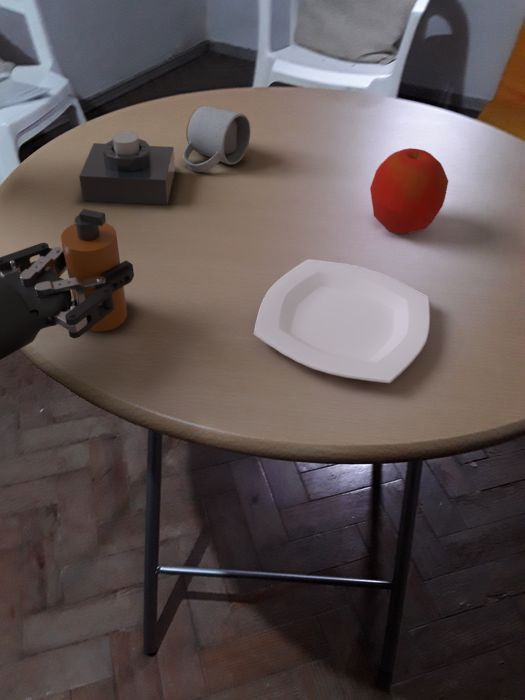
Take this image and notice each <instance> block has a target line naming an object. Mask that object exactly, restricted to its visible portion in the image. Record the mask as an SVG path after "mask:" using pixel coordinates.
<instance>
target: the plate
mask: <svg viewBox="0 0 525 700" xmlns="http://www.w3.org/2000/svg"><path fill="white" fill-rule="evenodd" d="M430 326H431V308H430V298H429V296H428V295H426V294H424V293H422V292H421V291H419V290H417V289H415V288H413V287H411V286H410V285H408V284H406V283H404V282H403V281H400V280H398V279H396V278H394V277H392V276H389V275H387V274H385V273H382V272H379V271H377V270H374V269H370V268H367V267H363V266H360V265H354V264H349V263H344V262H343V263H342V262H336V261H328V260H321V259H320V260H319V259H310V258H307V259H306V260H304V261H302V262H301V263H299V264H298V265H297V266H295V267H293V268H292V269H291V270H289V271H288V272H286V273H285V274H284V275H282V276H281V277H279V279H278V280H276V281H275V282H274V283H273V284H272V286H270V287H269V288H268V290H267V292H266V293H265V295H264V296H263V298H262V301H261V303H260V306H259V309H258V313H257V317H256V319H255V325H254V330H253V336H255V338H257V339H259V340H261V341H262V342H263V343H265V344H266V345H268V346H269V347H271V348H272V349H274V350H276V351H277V352H278V353H280V354H282V355H283V356H285V357H286V358H289V359H290V360H292V361H294V362H296V363H298V364H300V365H302V366H304V367H307V368H310V369H312V370H314V371H318V372H320V373H324V374H328V375H331V376H336V377H342V378H345V379H351V380H360V381H367V382H374V383H381V384H391V383H392V382H394V380H395V379H397V378H398V377H399V376H400V375H401V374H403V372H404V371H405V370H406V369H407V368H408V367H409V366H410V365H411V364H412V363H413V362H414V360H415V359H416V358H417V357H418V356H419V354H421V351H422V350H424V349H423V348H424V347H425V345H426V344H427V342H428V338H429V334H430Z"/></svg>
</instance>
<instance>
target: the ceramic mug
mask: <svg viewBox="0 0 525 700" xmlns="http://www.w3.org/2000/svg"><path fill="white" fill-rule="evenodd" d="M185 127H186V128H185V138H186V142H187V144H186V146H185V148H184V150H183V152H182V157H183V158H182V159H183V161H184V163H185V165H186V167H187V168H188V169H189V170H191V171H193V172H196V173H197V172H198V173H203V172H207V171H209V170H211V169H213V168H214V167H215V166H217V165H218V163H220V162H221V163H224V164H227V165H236V164H238V163H240V162H241V160H242V159H243V158H244V157H245V154H246V152H247V151H248V148H249V144H250V141H251V132H252V131H251V124H250V121H249V118H248V116H246V115H245V114H243V113H242V112H236V111H232V110H228V109H227V110H226V109H223V108H219V107H215V106H205V105H203V106H199V107H196V109H194V110H193V112H191V114H190V115H189V117H188V119H187V123H186V126H185ZM193 151H195V152H197V153H198V154H200V155H203V156H206V157H209V159H208V160H206V161H203V162H201V163H192V161H191V160H189V158H190V155H191V154H192V153H193Z"/></svg>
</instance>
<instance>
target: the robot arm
mask: <svg viewBox="0 0 525 700" xmlns="http://www.w3.org/2000/svg"><path fill="white" fill-rule="evenodd" d="M36 256H39V257H38V258H37V259H36V260H34V261H31V258H33V257H36ZM66 271H67V266H66V261H65V256H64V251H63V247H62V246H61V247H60V246H57V247H53V248H52V247H50V245H49V244H48V243H47V242H40V243H37V244H35V245H31V246H28V247H26V248H22V249H19V250H17V251H14V252H11V253H8V254H6V255H2V256H0V361H1V360H3V359H5V358H7V357H8V356H10V355H12V354H14V353H15V352H17V351H19V350H21V349H23V348H25V347H26V346H28V345H29V344H31V343H33V342H34V341H35V339H36V337H37V336H38V334H39V333H40V331H41V330H44V329H46V328H49V327H55V326H57V325H59V326H61V327H63V328H64V329H66V330H67V331H68V336H69V337H70V338H71V339H78V338H80V337H82V336H83V335H84V334H85V333H86V332H88V331H90V330H89V329H90V328H91V327H93V326H94V325H95V324H96V323H98V322H99V321H100V320H101V319H103V318H104V317H105V316H106V315H108V314H109V313H110V312H112V311H113V310H114V302H113V296H112V293H113V292H114V291H116V290H118V289H120V288H122V287H123V286H124V287H125V286H126V285H128V284H131V283H132V281H133V279H134V277H135V273H134V265H133V263H132V262H130V261H128V260H124V261H122V262H120V264H118V265H116V266H114V267H113V268H111V269H109V270H107V271H105V272H103V273H101V274H100V275H101V276H96V277H92V278H87V279H80V278H79V277H74V278H69V277H68V278H62V277H61V276H62V275H63V274H64V273H65V272H66ZM92 288H95V292H94V293H89V294H84V292H85V290H88V289H92ZM72 289H73V290H75V292H76V299H75V300H74V299H73V294H72ZM100 303H101V305H100V306H99V304H100ZM98 306H99V307H98Z"/></svg>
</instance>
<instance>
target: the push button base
mask: <svg viewBox="0 0 525 700" xmlns="http://www.w3.org/2000/svg"><path fill="white" fill-rule="evenodd" d="M139 148H140V151H139V152H137V153H136V154H131V155H120V154H117V153H115V152H114V146H113V139H111V140H109V141H108V142H106V143H100V142H99V143H98V142H94V143H93V144H92V145H91V148H90V150H89V153H88V155H87V157H86V160H85V162H84V164H83V166H82V168H81V171H80V173H79V176H78V179H79V183H80V189H81V190H80V191H81V195H82V200H83V201H82V202H93V203H115V204H134V205H135V204H136V205H137V204H138V205H160V206H168V203H169V198H170V195H171V190H172V185H173V180H174V176H175V172H176V168H175V167H176V166H175V152H174V150H175V149H174V146H161V145H150V144H149V143H148V141H146V140H143V139H141V138H139Z"/></svg>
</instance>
